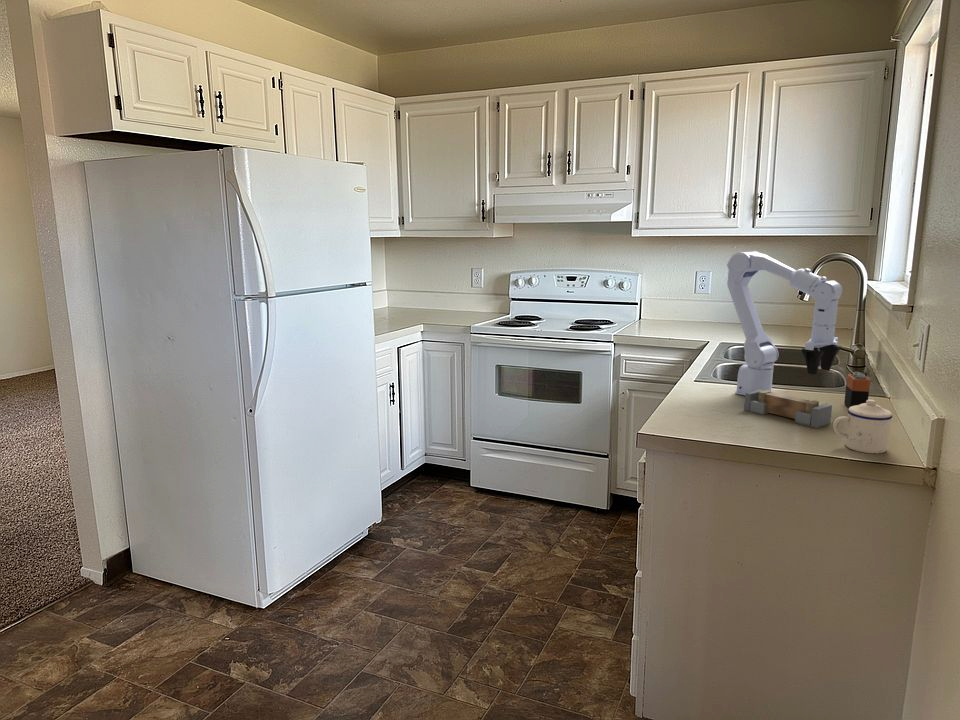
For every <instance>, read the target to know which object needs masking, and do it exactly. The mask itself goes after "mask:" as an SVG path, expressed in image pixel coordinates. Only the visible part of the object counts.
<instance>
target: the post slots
mask: <svg viewBox="0 0 960 720" xmlns="http://www.w3.org/2000/svg"><path fill="white" fill-rule="evenodd" d="M761 391H765V390H762V389H758V390H754V391H751V392H747V393H745V395H744V404H743V405H744V406H743V410H744V411H746V412H750V413H754V414H758V413H759V414H758V415H763V416H764V415H767V414H769V413H768V412H766V403H762V402H758V400H759V392H761ZM832 410H833V404H830V403H823V404H821V405H820V404H819V406H817V407H814V408H812V414H809V413H804V412H800V411H797V412H796V416H795V419H794V424H798V425H803V426H806V427H811V428H814V429H818V428H821V427H824V426H826V425H828V424H831V420H832Z"/></svg>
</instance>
